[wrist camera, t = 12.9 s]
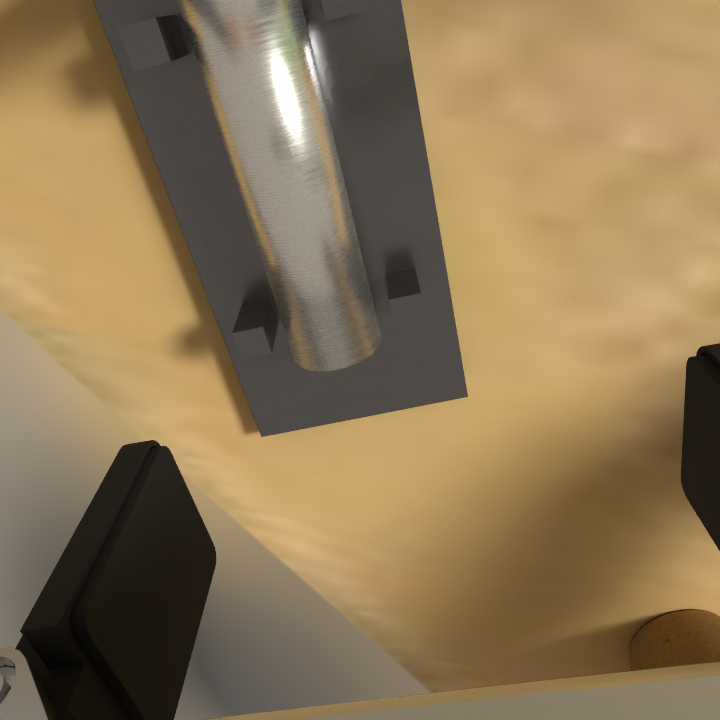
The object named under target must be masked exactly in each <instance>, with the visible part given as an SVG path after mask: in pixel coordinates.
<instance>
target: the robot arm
mask: <svg viewBox="0 0 720 720" xmlns="http://www.w3.org/2000/svg"><path fill="white" fill-rule="evenodd" d="M681 482H682V487H683V490H684V493H685V495H686V497H687V499H688V501H689V502H690V504H691V506H692V507H693V509H694V510H695V512H696V514H697V515H698V517H699V518H700V520H701V522H702V523H703V525H704V527H705V528H706V530H707V531H708V533H709V535H710V536H711V538H712V539H713V541H714V543H715V544H716V546H717V547H718V549H719V551H720V343H719V344H714V345H708V346H702V347H700V348H699V349H698V351H697V355H696V356H694V357H690V358H688V361H687V365H686V384H685V405H684V425H683V445H682V465H681ZM215 566H216V551H215V547H214V544H213V542H212V540H211V537H210V535H209V533H208V531H207V529H206V527H205V525H204V522H203V520H202V518H201V516H200V514H199V512H198V510H197V507H196V505H195V503H194V501H193V499H192V496H191V494H190V492H189V490H188V488H187V486H186V483H185V481H184V479H183V477H182V475H181V473H180V470H179V468H178V466H177V464H176V462H175V460H174V458H173V455H172V453H171V451H170V450H169V448H168V447H167V446H160V444H159V443H158V442H157V441H154V440H150V441H144V442H138V443H132V444H127V445H124V446H122V448H121V449H120V450H119V452H118V454H117V456H116V458H115V459H114V461H113V463H112V465H111V467H110V469H109V470H108V472H107V474H106V476H105V478H104V479H103V481H102V483H101V485H100V487H99V489H98V491H97V492H96V494H95V496H94V498H93V500H92V501H91V503H90V505H89V507H88V508H87V510H86V512H85V514H84V516H83V518H82V519H81V521H80V523H79V525H78V527H77V529H76V530H75V532H74V534H73V536H72V538H71V539H70V541H69V543H68V545H67V547H66V549H65V550H64V552H63V554H62V556H61V558H60V559H59V561H58V563H57V565H56V567H55V569H54V570H53V572H52V574H51V576H50V578H49V579H48V581H47V583H46V585H45V587H44V589H43V590H42V592H41V594H40V596H39V598H38V599H37V601H36V603H35V605H34V607H33V608H32V610H31V612H30V614H29V616H28V618H27V619H26V621H25V623H24V625H23V627H22V629H21V631H20V632H21V633H22V634H23V636H22V638H21V639H20V641H19V643H18V645H17V647H16V648H15V649H14V648H11V647H6V648H0V720H174V717H175V713H176V709H177V706H178V702H179V698H180V695H181V691H182V687H183V684H184V680H185V676H186V673H187V669H188V665H189V661H190V658H191V654H192V650H193V647H194V643H195V639H196V635H197V632H198V628H199V625H200V621H201V617H202V614H203V610H204V606H205V602H206V599H207V595H208V591H209V588H210V584H211V581H212V577H213V573H214V569H215ZM204 720H720V662H714V663H703V664H694V665H684V666H675V667H666V668H656V669H647V670H638V671H628V672H619V673H610V674H600V675H591V676H582V677H572V678H563V679H554V680H544V681H535V682H526V683H517V684H508V685H499V686H490V687H481V688H472V689H463V690H454V691H445V692H436V693H428V694H420V695H411V696H401V697H393V698H384V699H375V700H367V701H358V702H348V703H340V704H332V705H323V706H315V707H306V708H297V709H289V710H280V711H272V712H264V713H255V714H247V715H239V716H230V717H221V718H213V719H204Z"/></svg>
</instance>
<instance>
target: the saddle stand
mask: <svg viewBox="0 0 720 720" xmlns="http://www.w3.org/2000/svg"><path fill="white" fill-rule="evenodd" d="M93 1H94V4H95V6H96V9H97V11H98V14H99V17H100V19H101V22H102V24H103V27H104V30H105V32H106V35H107V37H108V40H109V43H110V45H111V48H112V50H113V53H114V56H115V58H116V61H117V63H118V66H119V68H120V71H121V74H122V76H123V79H124V81H125V84H126V87H127V89H128V92H129V94H130V97H131V100H132V102H133V105H134V107H135V110H136V113H137V115H138V118H139V120H140V123H141V126H142V128H143V131H144V133H145V136H146V139H147V141H148V144H149V146H150V149H151V151H152V154H153V157H154V159H155V162H156V164H157V167H158V170H159V172H160V175H161V177H162V180H163V183H164V185H165V188H166V190H167V193H168V196H169V198H170V201H171V203H172V206H173V209H174V211H175V214H176V216H177V219H178V222H179V224H180V227H181V229H182V232H183V234H184V237H185V240H186V242H187V245H188V247H189V250H190V253H191V255H192V258H193V260H194V263H195V266H196V268H197V271H198V273H199V276H200V279H201V281H202V284H203V286H204V289H205V292H206V294H207V297H208V299H209V302H210V305H211V307H212V310H213V312H214V315H215V317H216V320H217V323H218V325H219V328H220V330H221V333H222V336H223V338H224V341H225V343H226V346H227V349H228V351H229V354H230V356H231V359H232V362H233V364H234V367H235V369H236V372H237V375H238V377H239V380H240V382H241V385H242V388H243V390H244V393H245V395H246V398H247V401H248V403H249V406H250V408H251V411H252V413H253V416H254V419H255V421H256V424H257V426H258V429H259V432H260V434H261V437H264V436H269V435H274V434H279V433H285V432H290V431H295V430H300V429H305V428H310V427H315V426H320V425H326V424H331V423H336V422H341V421H346V420H351V419H356V418H362V417H367V416H372V415H377V414H382V413H387V412H392V411H397V410H403V409H408V408H413V407H418V406H423V405H428V404H433V403H439V402H444V401H449V400H454V399H459V398H464V397H468V395H467V389H466V383H465V377H464V371H463V365H462V359H461V353H460V347H459V341H458V335H457V329H456V324H455V318H454V312H453V306H452V300H451V294H450V288H449V282H448V276H447V270H446V264H445V258H444V253H443V247H442V241H441V235H440V229H439V223H438V217H437V211H436V205H435V199H434V193H433V187H432V182H431V176H430V170H429V164H428V158H427V152H426V146H425V140H424V134H423V128H422V122H421V116H420V111H419V105H418V99H417V93H416V87H415V81H414V75H413V69H412V63H411V57H410V51H409V46H408V40H407V34H406V28H405V22H404V16H403V10H402V4H401V0H301V3H302V7H303V11H304V15H305V20H306V24H307V28H308V32H309V36H310V40H311V45H312V49H313V53H314V57H315V61H316V66H317V70H318V74H319V78H320V82H321V86H322V91H323V95H324V99H325V103H326V107H327V112H328V116H329V120H330V124H331V128H332V132H333V137H334V141H335V145H336V149H337V153H338V158H339V162H340V166H341V170H342V174H343V178H344V183H345V187H346V191H347V195H348V199H349V204H350V208H351V212H352V216H353V220H354V224H355V229H356V233H357V237H358V241H359V245H360V250H361V254H362V258H363V262H364V266H365V270H366V275H367V279H368V283H369V287H370V291H371V296H372V300H373V304H374V308H375V312H376V316H377V321H378V325H379V329H380V333H381V343H380V345H379V347H378V348H377V349H376V351H375V352H374V353H372V354H371V355H370V356H369V357H367V358H366V359H364V360H362V361H360V362H358V363H356V364H354V365H351V366H349V367H345V368H342V369H338V370H332V371H310V370H306V369H303V368H301V367H300V366H298V365H297V364H296V362H295V360H294V357H293V354H292V351H291V348H290V345H289V342H288V339H287V335H286V332H285V329H284V326H283V323H282V320H281V317H280V314H279V311H278V308H277V305H276V302H275V299H274V296H273V293H272V289H271V286H270V283H269V280H268V277H267V274H266V271H265V268H264V265H263V262H262V259H261V256H260V253H259V250H258V247H257V243H256V240H255V237H254V234H253V231H252V228H251V225H250V222H249V219H248V216H247V213H246V210H245V207H244V204H243V201H242V198H241V194H240V191H239V188H238V185H237V182H236V179H235V176H234V173H233V170H232V167H231V164H230V161H229V158H228V155H227V152H226V148H225V145H224V142H223V139H222V136H221V133H220V130H219V127H218V124H217V121H216V118H215V115H214V112H213V109H212V106H211V102H210V99H209V96H208V93H207V90H206V87H205V84H204V81H203V78H202V75H201V72H200V69H199V66H198V63H197V60H196V56H195V53H194V50H193V47H192V44H191V41H190V38H189V35H188V32H187V29H186V26H185V23H184V20H183V17H182V14H181V10H180V7H179V4H178V1H177V0H93Z"/></svg>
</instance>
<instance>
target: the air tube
mask: <svg viewBox="0 0 720 720" xmlns="http://www.w3.org/2000/svg"><path fill="white" fill-rule="evenodd" d="M177 1H178V4H179V7H180V10H181V14H182V17H183V20H184V23H185V26H186V29H187V32H188V35H189V38H190V41H191V44H192V47H193V50H194V53H195V56H196V60H197V63H198V66H199V69H200V72H201V75H202V78H203V81H204V84H205V87H206V90H207V93H208V96H209V99H210V102H211V106H212V109H213V112H214V115H215V118H216V121H217V124H218V127H219V130H220V133H221V136H222V139H223V142H224V145H225V148H226V152H227V155H228V158H229V161H230V164H231V167H232V170H233V173H234V176H235V179H236V182H237V185H238V188H239V191H240V194H241V198H242V201H243V204H244V207H245V210H246V213H247V216H248V219H249V222H250V225H251V228H252V231H253V234H254V237H255V240H256V243H257V247H258V250H259V253H260V256H261V259H262V262H263V265H264V268H265V271H266V274H267V277H268V280H269V283H270V286H271V289H272V293H273V296H274V299H275V302H276V305H277V308H278V311H279V314H280V317H281V320H282V323H283V326H284V329H285V332H286V335H287V339H288V342H289V345H290V348H291V351H292V354H293V357H294V360H295V362H296V364H297V365H298V366H300V367H301V368H303V369H306V370H310V371H332V370H338V369H342V368H345V367H349V366H351V365H354V364H356V363H358V362H360V361H362V360H364V359H366V358H367V357H369V356H370V355H371V354H372V353H374V352H375V351H376V349H377V348H378V347H379V345H380V343H381V333H380V329H379V325H378V321H377V316H376V312H375V308H374V304H373V300H372V296H371V291H370V287H369V283H368V279H367V275H366V270H365V266H364V262H363V258H362V254H361V250H360V245H359V241H358V237H357V233H356V229H355V224H354V220H353V216H352V212H351V208H350V204H349V199H348V195H347V191H346V187H345V183H344V178H343V174H342V170H341V166H340V162H339V158H338V153H337V149H336V145H335V141H334V137H333V132H332V128H331V124H330V120H329V116H328V112H327V107H326V103H325V99H324V95H323V91H322V86H321V82H320V78H319V74H318V70H317V66H316V61H315V57H314V53H313V49H312V45H311V40H310V36H309V32H308V28H307V24H306V20H305V15H304V11H303V7H302V3H301V0H177Z"/></svg>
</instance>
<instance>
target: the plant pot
mask: <svg viewBox="0 0 720 720" xmlns="http://www.w3.org/2000/svg"><path fill="white" fill-rule="evenodd" d="M714 662H720V617H719V616H718V615H716V614H714V613H711V612H708V611H703V610H684V611H677V612H673V613H669V614H666V615H663V616H661V617H659V618H657V619H655V620H653V621H651V622H649V623H648V624H647V625H645V626H644V627H643V628H642V629H641V630H639V632H638V633H637V634H636V635H635V637H634V639H633V641H632V643H631V647H630V667H631V671H638V670H647V669H656V668H666V667H675V666H684V665H694V664H703V663H714Z"/></svg>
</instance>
